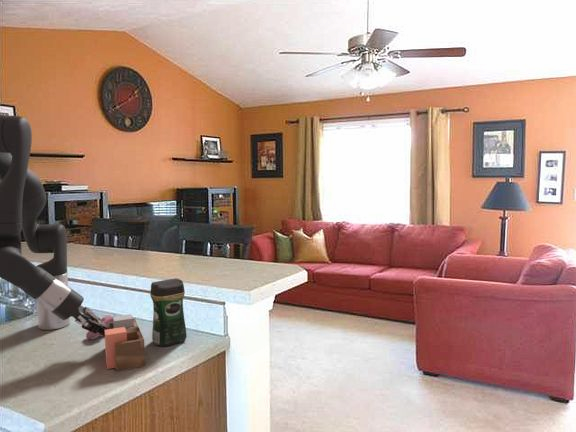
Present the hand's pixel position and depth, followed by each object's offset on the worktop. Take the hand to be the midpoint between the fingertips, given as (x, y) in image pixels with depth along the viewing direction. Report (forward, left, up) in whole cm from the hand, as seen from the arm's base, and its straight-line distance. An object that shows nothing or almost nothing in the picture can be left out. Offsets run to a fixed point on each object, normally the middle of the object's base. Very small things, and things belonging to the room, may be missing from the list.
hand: (111, 335), depth 123 cm
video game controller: (-15, -1, -5) cm, 15 cm away
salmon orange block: (+10, 0, -4) cm, 11 cm away
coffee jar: (0, +16, -5) cm, 17 cm away
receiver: (+5, +3, -4) cm, 7 cm away
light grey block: (0, +3, -4) cm, 5 cm away
